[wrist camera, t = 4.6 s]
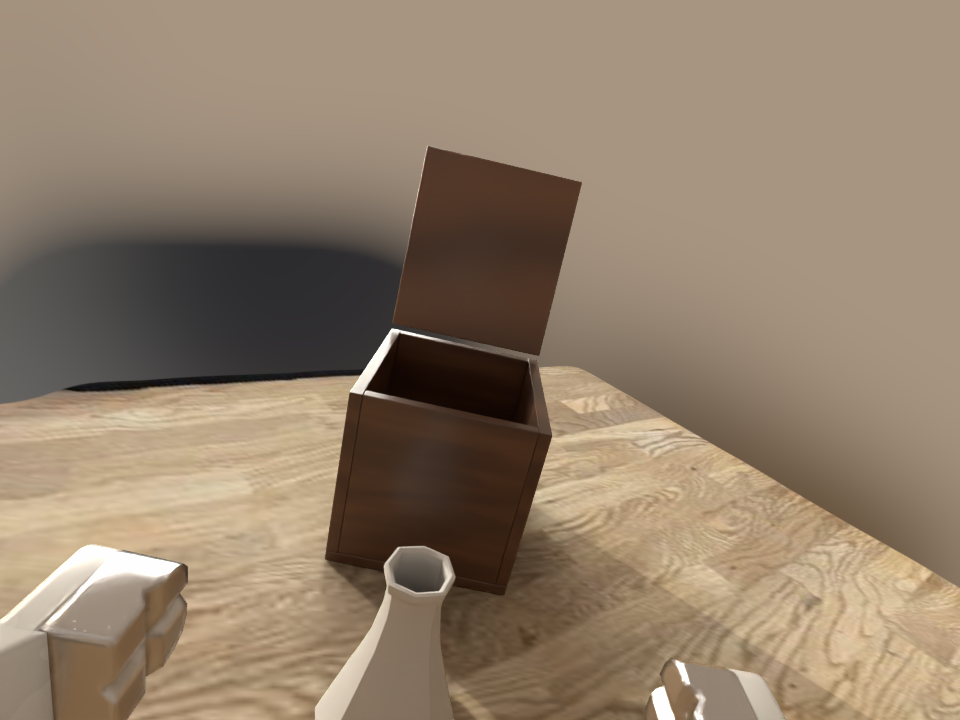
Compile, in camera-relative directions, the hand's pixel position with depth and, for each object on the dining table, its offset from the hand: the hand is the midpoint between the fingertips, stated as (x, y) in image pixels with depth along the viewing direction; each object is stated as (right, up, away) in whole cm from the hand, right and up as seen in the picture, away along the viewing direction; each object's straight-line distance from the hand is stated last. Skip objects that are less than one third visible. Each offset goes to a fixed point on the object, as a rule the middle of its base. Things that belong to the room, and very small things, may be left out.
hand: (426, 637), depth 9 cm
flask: (-4, -14, +18) cm, 23 cm away
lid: (+1, +13, +34) cm, 37 cm away
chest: (-3, -8, +34) cm, 35 cm away
